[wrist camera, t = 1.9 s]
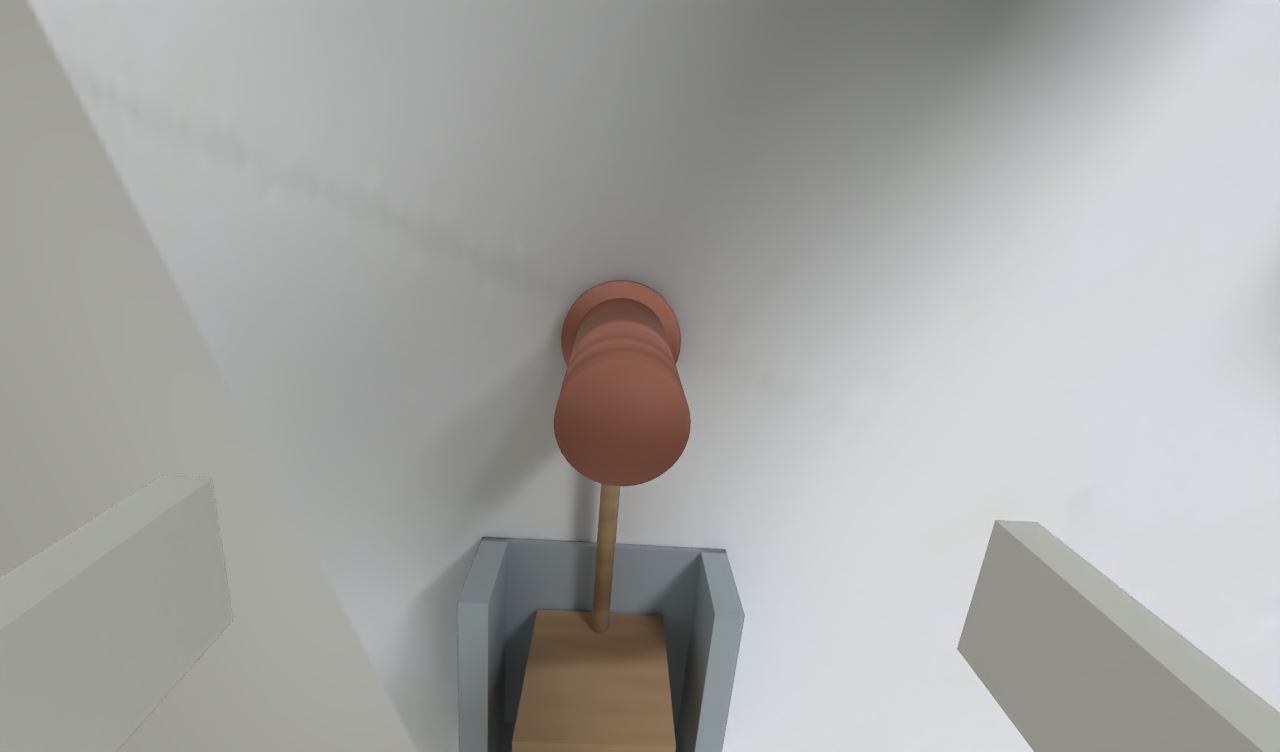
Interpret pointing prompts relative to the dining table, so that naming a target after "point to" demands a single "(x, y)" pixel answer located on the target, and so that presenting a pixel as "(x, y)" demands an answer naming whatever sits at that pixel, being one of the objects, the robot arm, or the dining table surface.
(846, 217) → the dining table surface
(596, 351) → the block and peg linkage
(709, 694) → the slate open-sided box
